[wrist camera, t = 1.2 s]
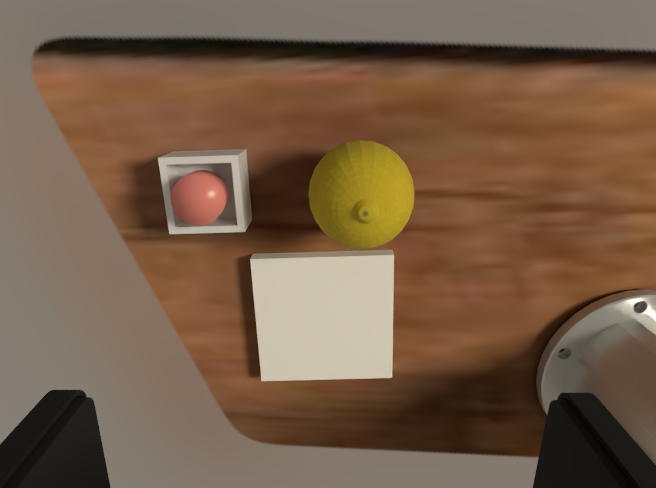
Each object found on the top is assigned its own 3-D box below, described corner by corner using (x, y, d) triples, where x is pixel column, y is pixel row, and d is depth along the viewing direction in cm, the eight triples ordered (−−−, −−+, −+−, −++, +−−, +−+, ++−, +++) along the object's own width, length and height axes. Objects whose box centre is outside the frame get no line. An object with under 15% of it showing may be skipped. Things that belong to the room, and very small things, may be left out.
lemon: (344, 115, 27) (349, 125, 19) (419, 166, 28) (453, 196, 20) (294, 192, 28) (281, 230, 21) (368, 239, 29) (381, 292, 22)
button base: (246, 148, 27) (237, 155, 25) (252, 219, 29) (245, 232, 26) (173, 151, 28) (157, 157, 25) (183, 221, 29) (169, 234, 26)
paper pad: (391, 249, 30) (393, 255, 29) (390, 369, 32) (392, 377, 31) (252, 253, 30) (250, 259, 29) (263, 372, 33) (261, 381, 32)
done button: (226, 168, 26) (219, 174, 24) (231, 217, 27) (225, 224, 25) (176, 170, 26) (167, 175, 24) (183, 218, 27) (174, 226, 25)
